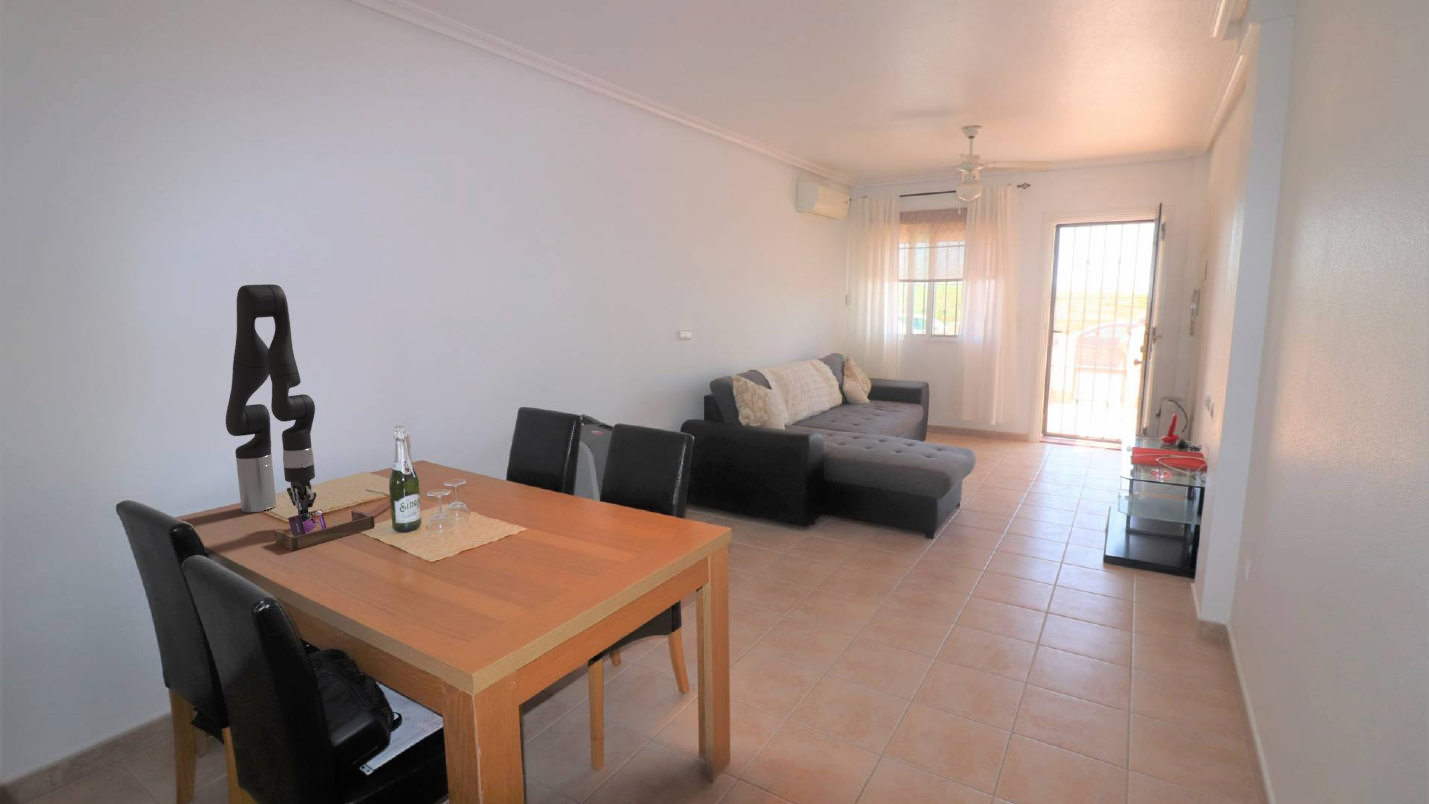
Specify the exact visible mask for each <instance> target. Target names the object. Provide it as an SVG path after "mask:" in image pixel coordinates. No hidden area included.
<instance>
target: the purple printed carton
mask: <svg viewBox="0 0 1429 804" xmlns="http://www.w3.org/2000/svg"><path fill="white" fill-rule="evenodd" d="M302 515H305V516H306V517H307V518H309V519H308V520H306V521H305V522H302V518H301V516H302ZM316 516H317V517H318V519H319V521H316V520H317V518H312V517H316ZM287 519H288V523H289V527H290V530H291V535H293V536H299V535H302V534H306V533H310V532H313V531H314V529H315V528H316V527H317V524H319V523H320V527H321V529H324V528H327V524H326V520H325V517H324V514H323V509H322V508H321V509H317V510H312V511H308V513H304V514H300V515H298V514H297V515H293V516H289V517H288V518H287Z"/></svg>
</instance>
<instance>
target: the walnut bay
mask: <svg viewBox="0 0 1429 804" xmlns="http://www.w3.org/2000/svg"><path fill="white" fill-rule="evenodd" d="M350 512H351V521H348V522H344V523H339V524H337V525H332V526H329V527H326V528H324V529H322V528H320V529H317V530H312V531H310V532H306V534H302V535H299V536H293V535H292V533H288V532H286V531H284V530H281V529H275V530H274V539H275V543H276V544H278V545H280V546H283V547H285V548H287V549H289V550H292V551H298V550H302V549H305V548H309V547H312V546H316V545H319V544H323V543H326V542H330V541H333V540H337V539H340V538H343V537H347V536H350V535H354V534H358V533H360V532H365V531H368V530H371V529H374V527H375V526H376V525H375V516H374V515H373V514H372V515H371V514H368V513H366V512H362V511H359V510H357V509H352V510H351V511H350ZM364 530H365V531H364Z"/></svg>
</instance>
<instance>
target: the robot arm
mask: <svg viewBox="0 0 1429 804" xmlns="http://www.w3.org/2000/svg"><path fill="white" fill-rule="evenodd" d="M258 318H273V321H274V334H273V338H272V340H271V343H270V345H269V347H268V346H267V344H266V343H265V341H264V340H263V339H262V337H260V336H259V333H258V332H257V330H256V320H257V319H258ZM235 336H236V337H235V346H234V352H233V361H232V376H231V388H230V392H229V399H228V404H227V409H226V413H225V427H226V431H227V433H228V434H229V435H231V436H233V437H245V436H251V435H254V436H253V437H252V438H251V439H250V440H249V441H248V442H246V443H243V444H242V445H239V446H238V447H236V449H235V461H236V470H237V471H236V472H237V480H238V489H239V501H240V509H241V512H243V513H259V512H265V511H264V510H265V509H266V508H268V507H274V506H275V505H276V506H277V499H276V489H275V479H274V478H275V477H274V466H273V457H272V456H273V455H272V438H271V436H272V435H271V432H272V431H271V417H270V412H269V409H268V407H267V406H266V405H265V404H262V403H261V404H260V403H259V404H258V403H257V404H247V403H248V401H249V400H250V398H251V397H252V396H253V395H254V394H255V393H256V392H257V391H258V390H259V389H260V388H261V386H262V385H264V383H265V382H266V380H268V378H269V377H270V381H271V407H270V409H271V413H272V415H273V416H274V417H275V419H277V421H280V422H285V423H286V422H291V421H294V424H293V425H292V426H290V427H288V428H287V429H284V430H283V431H282V433H281V441H282V453H283V454H282V463H283V465H282V466H283V472H284V481H285V482H288V483H290V487H287V488H286V491H287V494H288V496H289V499H290V500H291V503H292V505H293V507H295V509H296V510H297V515H300V514H304V513H308V512H309V509H311V508H313V506H314V503H315V500H316V499H317V493H316V491H315V492H313V491H312V485H311V480H314V479H315V477H316V472H315V471H316V470H315V459H314V452H313V448H312V438H311V433H312V432H311V431H312V428H313V423H314V418H315V414H316V405H315V402H314V400H313V398H312V397H311V396H310V395H308V394H303V393H302V394H296V395H294V394H293V395H289V393H290V389H292V388H295V387H298V386H299V385H300V384H301V383H302V382H301V376H300V371H299V369H298V368H299V367H298V365H297V361H296V356H295V352H294V348H293V339H292V331H291V320H290V312H289V304H288V300H287V295H286V293H285V291H284V289H283V288H282V287H281V286H280V285H278V284H245V285H244V284H243V285H241V286H240V287H239V289H238V290H237V294H236V335H235ZM274 508H275V507H274ZM301 518H302V522H303V523H304V522H305V521H306V520H308V519H310V518H307V517H306V516H305V515H302V516H301Z"/></svg>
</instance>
